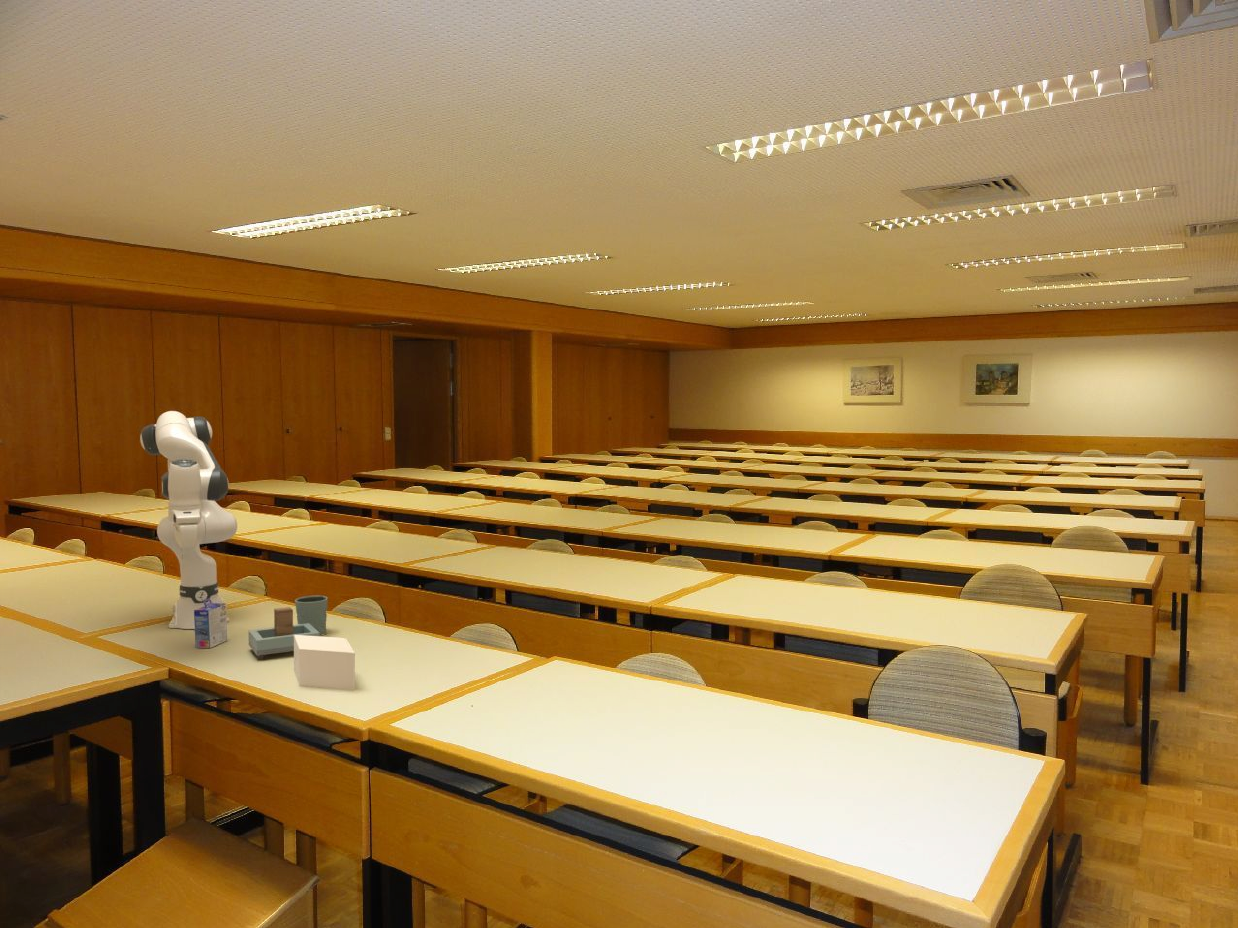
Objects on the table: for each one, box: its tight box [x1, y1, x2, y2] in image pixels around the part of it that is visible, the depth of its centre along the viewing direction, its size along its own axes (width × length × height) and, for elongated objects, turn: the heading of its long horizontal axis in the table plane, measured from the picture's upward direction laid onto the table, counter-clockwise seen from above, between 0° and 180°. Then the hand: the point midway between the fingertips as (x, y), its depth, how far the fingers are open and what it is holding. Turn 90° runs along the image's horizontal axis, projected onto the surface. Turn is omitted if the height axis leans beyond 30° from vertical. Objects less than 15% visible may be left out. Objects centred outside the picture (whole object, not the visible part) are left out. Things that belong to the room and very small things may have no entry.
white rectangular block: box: [293, 635, 356, 691], centre depth 232 cm, size 14×29×10 cm, turn 53°
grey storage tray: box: [248, 623, 320, 660], centre depth 259 cm, size 14×18×6 cm
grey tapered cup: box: [294, 595, 328, 636], centre depth 279 cm, size 10×10×12 cm
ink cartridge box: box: [194, 598, 228, 649], centre depth 265 cm, size 10×6×14 cm, turn 174°
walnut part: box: [273, 606, 294, 637], centre depth 258 cm, size 4×4×10 cm
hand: (185, 560), depth 251 cm, fingers closed
